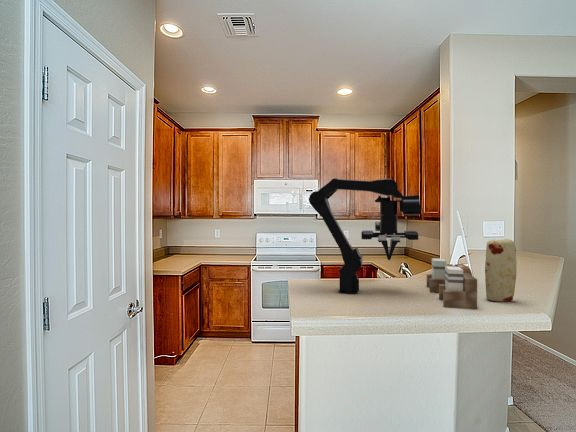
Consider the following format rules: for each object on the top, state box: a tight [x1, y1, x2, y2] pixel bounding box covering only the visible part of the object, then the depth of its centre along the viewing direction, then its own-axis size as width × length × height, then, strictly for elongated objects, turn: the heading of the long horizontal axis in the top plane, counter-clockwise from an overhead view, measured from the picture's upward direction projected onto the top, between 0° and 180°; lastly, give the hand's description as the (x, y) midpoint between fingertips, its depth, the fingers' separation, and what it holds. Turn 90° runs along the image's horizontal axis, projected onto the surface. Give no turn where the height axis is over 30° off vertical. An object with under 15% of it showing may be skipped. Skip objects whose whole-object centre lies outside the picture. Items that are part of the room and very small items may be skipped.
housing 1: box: [426, 263, 455, 294], centre depth 120 cm, size 9×10×9 cm
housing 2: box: [438, 273, 478, 310], centre depth 102 cm, size 9×10×9 cm
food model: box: [484, 238, 518, 303], centre depth 106 cm, size 10×7×20 cm
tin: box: [453, 263, 473, 276], centre depth 125 cm, size 15×3×8 cm, turn 168°
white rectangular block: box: [445, 265, 464, 291], centre depth 103 cm, size 4×6×11 cm
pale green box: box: [430, 257, 447, 279], centre depth 120 cm, size 4×6×11 cm
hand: (388, 259), depth 116 cm, fingers closed
